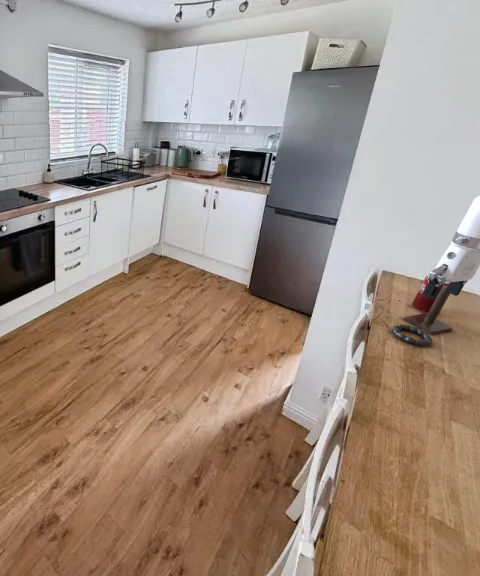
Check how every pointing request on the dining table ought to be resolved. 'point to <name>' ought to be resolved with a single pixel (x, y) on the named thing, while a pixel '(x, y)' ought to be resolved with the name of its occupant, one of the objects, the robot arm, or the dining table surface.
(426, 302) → the soda can
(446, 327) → the post
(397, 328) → the ring
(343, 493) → the dining table surface
